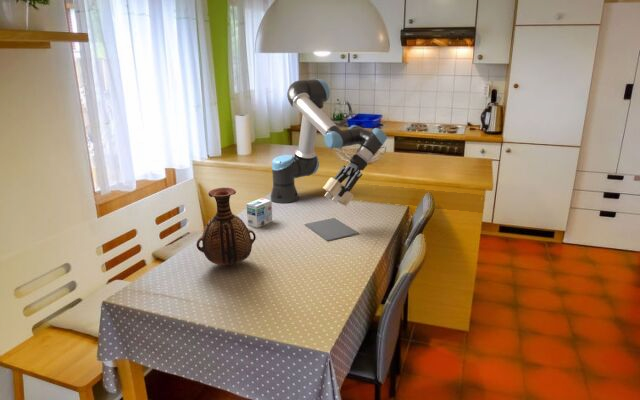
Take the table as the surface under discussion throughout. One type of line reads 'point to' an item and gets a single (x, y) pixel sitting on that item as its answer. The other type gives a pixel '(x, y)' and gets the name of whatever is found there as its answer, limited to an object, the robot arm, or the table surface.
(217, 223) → the vase
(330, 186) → the beech block
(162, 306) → the table surface
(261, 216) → the light bulb box
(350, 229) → the mat
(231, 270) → the table surface
